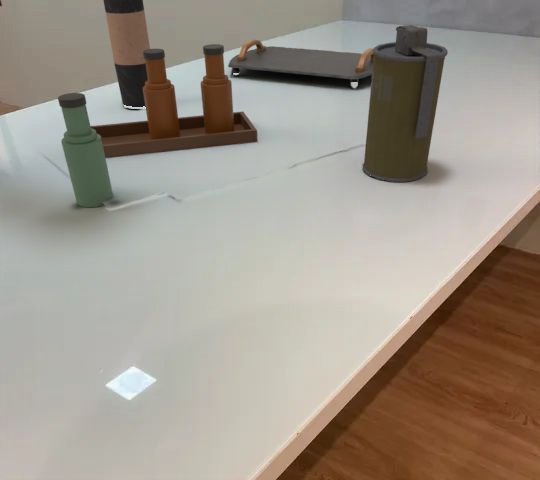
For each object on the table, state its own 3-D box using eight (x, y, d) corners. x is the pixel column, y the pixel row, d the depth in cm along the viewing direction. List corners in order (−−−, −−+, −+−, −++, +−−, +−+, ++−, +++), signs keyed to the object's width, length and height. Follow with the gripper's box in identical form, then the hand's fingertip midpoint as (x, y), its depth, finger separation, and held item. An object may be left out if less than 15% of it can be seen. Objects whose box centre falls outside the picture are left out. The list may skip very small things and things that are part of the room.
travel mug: (126, 112, 117) (106, -1, 104) (118, 103, 122) (98, -6, 109) (162, 107, 119) (146, -4, 106) (152, 98, 124) (137, -9, 111)
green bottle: (85, 210, 81) (58, 104, 71) (71, 198, 84) (44, 95, 75) (119, 201, 83) (98, 97, 74) (104, 189, 86) (82, 88, 77)
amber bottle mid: (159, 147, 98) (146, 56, 89) (145, 139, 102) (131, 50, 92) (186, 140, 101) (175, 51, 92) (171, 133, 104) (160, 45, 95)
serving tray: (217, 76, 138) (215, 48, 134) (258, 56, 154) (258, 31, 150) (367, 92, 125) (369, 61, 121) (396, 68, 140) (399, 41, 136)
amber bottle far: (215, 141, 100) (207, 51, 91) (199, 133, 104) (191, 46, 94) (240, 135, 103) (235, 46, 93) (224, 127, 106) (218, 41, 97)
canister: (350, 163, 93) (361, 24, 80) (404, 154, 95) (423, 18, 82) (384, 188, 85) (402, 38, 72) (442, 176, 88) (469, 31, 75)
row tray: (76, 164, 95) (73, 149, 93) (77, 142, 103) (74, 127, 102) (257, 145, 100) (257, 130, 99) (244, 125, 109) (243, 111, 107)
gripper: (53, -185, 60) (87, -7, 71) (-94, -189, 55) (-33, 4, 66) (69, -193, 55) (104, 0, 66) (-90, -198, 50) (-25, 12, 61)
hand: (35, 2), depth 66 cm, fingers open, 8 cm apart
